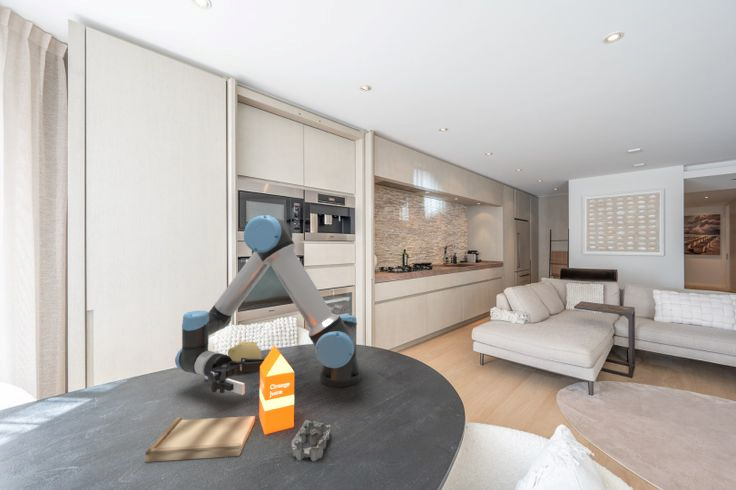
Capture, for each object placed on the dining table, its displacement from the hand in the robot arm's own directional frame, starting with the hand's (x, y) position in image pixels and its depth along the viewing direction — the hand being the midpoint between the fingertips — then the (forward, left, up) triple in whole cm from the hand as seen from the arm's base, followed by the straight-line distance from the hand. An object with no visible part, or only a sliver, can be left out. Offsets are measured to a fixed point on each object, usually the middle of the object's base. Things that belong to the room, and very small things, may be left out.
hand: (263, 379), depth 85 cm
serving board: (+12, +8, -11) cm, 18 cm away
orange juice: (-4, +2, -11) cm, 12 cm away
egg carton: (-14, +13, -11) cm, 23 cm away
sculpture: (+15, -37, -11) cm, 41 cm away
